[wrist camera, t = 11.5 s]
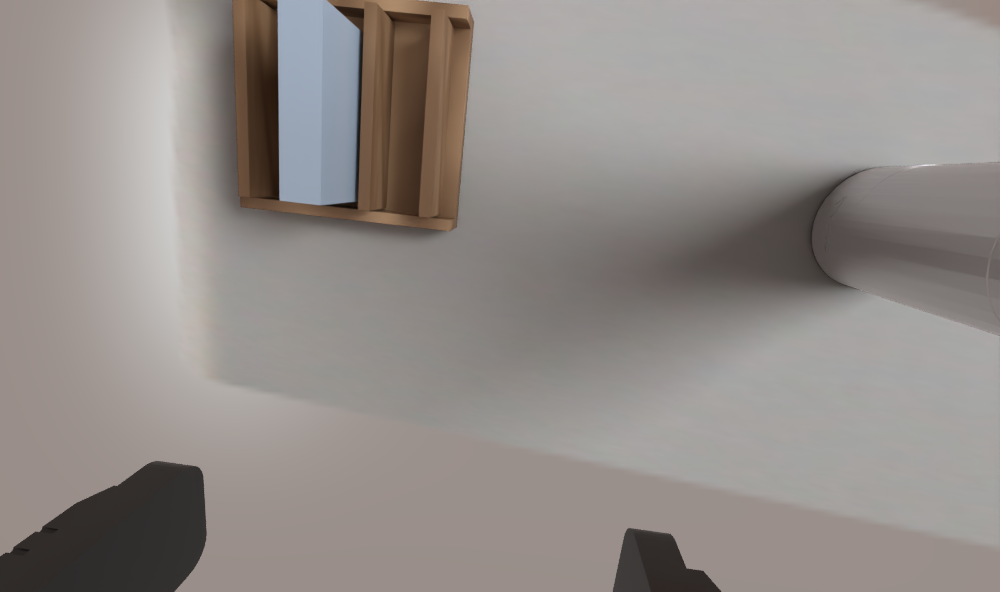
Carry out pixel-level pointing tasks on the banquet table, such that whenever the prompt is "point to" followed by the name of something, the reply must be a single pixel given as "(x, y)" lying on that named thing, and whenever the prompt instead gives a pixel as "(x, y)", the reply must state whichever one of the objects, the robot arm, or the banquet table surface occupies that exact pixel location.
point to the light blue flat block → (318, 103)
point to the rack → (368, 110)
